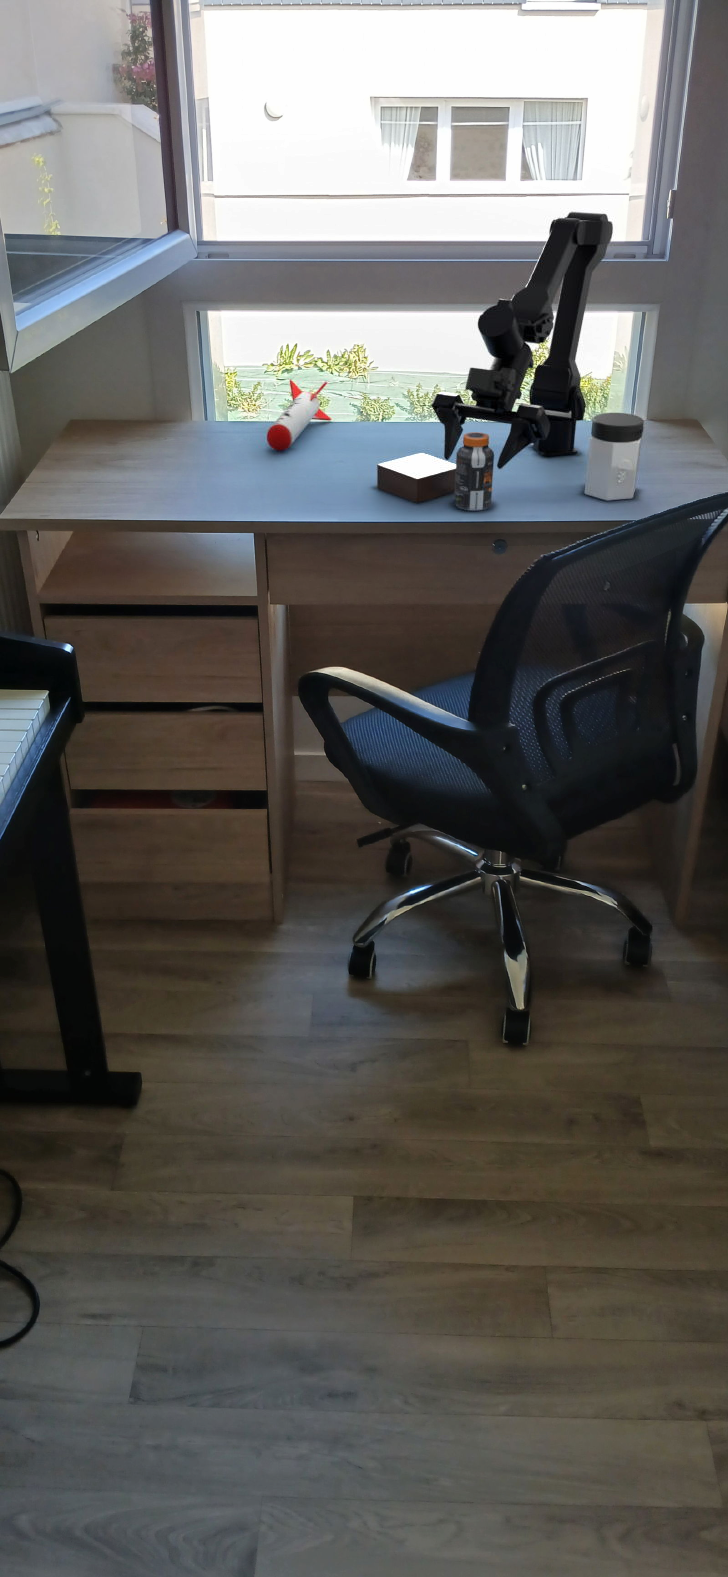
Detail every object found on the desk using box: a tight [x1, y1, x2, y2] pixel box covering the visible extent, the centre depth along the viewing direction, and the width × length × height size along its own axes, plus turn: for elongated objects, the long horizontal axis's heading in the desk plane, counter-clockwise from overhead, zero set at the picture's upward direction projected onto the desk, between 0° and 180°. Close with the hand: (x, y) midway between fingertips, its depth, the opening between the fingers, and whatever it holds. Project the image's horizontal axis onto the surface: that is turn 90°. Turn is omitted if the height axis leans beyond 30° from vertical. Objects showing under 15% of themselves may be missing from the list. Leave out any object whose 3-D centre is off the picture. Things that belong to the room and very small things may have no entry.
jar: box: [584, 412, 645, 502], centre depth 187 cm, size 9×8×12 cm
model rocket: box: [266, 379, 332, 452], centre depth 217 cm, size 11×23×10 cm
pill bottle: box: [454, 431, 495, 511], centre depth 183 cm, size 6×6×11 cm
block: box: [376, 452, 456, 504], centre depth 192 cm, size 10×10×4 cm
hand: (472, 462), depth 181 cm, fingers open, 9 cm apart
